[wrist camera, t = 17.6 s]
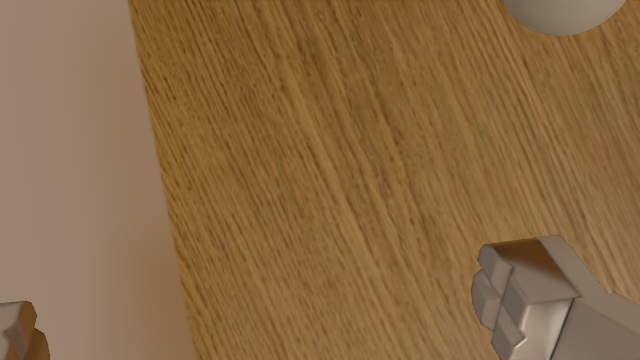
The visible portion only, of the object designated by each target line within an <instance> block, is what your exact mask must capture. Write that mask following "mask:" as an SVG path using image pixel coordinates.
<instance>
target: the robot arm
mask: <svg viewBox="0 0 640 360" xmlns="http://www.w3.org/2000/svg"><path fill="white" fill-rule="evenodd" d="M477 260H478V262H479V264H480V265H481V267H482V269H481V270H480V271H479V272H478V273H477V274H476V275H475V276H474V277H473V282H472V288H471V293H472V303H473V306H474V310H475V313H476V315H477V317H478V319H479V321H480V323H481V325H483V326H485V327H486V328H488V329H489V330H491V331H492V332H494V333H493V337H492V341H491V344H492V346H493V348H494V349H495V351H496V353H497V355H498V357H499V359H500V360H640V305H639V304H637V303H635V302H633V301H631V300H629V299H627V298H625V297H623V296H622V295H620V294H618V293H608V292H607V291H606V290H605V288H604V287H603V286H602V285H601V283H600V282H599V281H598V280H597V279H596V277H595V276H594V275H593V274H592V272H591V271H590V270H589V269H588V267H587V266H586V265H585V264H584V262H583V261H582V260H581V259H580V257H579V256H578V255H577V254H576V252H575V251H574V250H573V249H572V248H571V246H570V245H569V244H568V243H567V241H566V240H565V239H564V238H563V237H561V236H559V235H558V234H557V235H550V236H542V237H535V238H532V239H530V238H528V239H521V240H513V241H506V242H498V243H491V244H484V245H483V246H482V248H481V249H480V251H479V255H478V259H477ZM36 318H37V314H36V312H35V310H34V307H33V305H32V303H31V302H28V301H20V302H10V303H0V360H50V354H49V349H48V343H47V340H46V337H45V335H44V333H43V332H41V331H39V330H38V329H36V328H34V326H35V322H36Z"/></svg>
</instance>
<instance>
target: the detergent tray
mask: <svg viewBox="0 0 640 360" xmlns="http://www.w3.org/2000/svg"><path fill="white" fill-rule="evenodd" d="M502 1H503V4H504V5H505V7H506V8H507V10H508V11H509V13H510V14H511V15H512V16H513V17H514V18H515V19H516V20H517V21H518V22H519V23H521V24H522V25H524V26H525V27H527V28H529V29H530V30H533V31H536V32H539V33H542V34H545V35H554V36H566V35H573V34H578V33H582V32H585V31H587V30H589V29H592V28H594V27H596V26H598V25H600V24H601V23H603V22H604V21H606V20H607V19H609V18H610V17H611V16H612V15H613V14H614V13H615V12H616V11H617V10H618V9H620V8H621V6H622V5H623V4H624V2H625V1H626V0H502Z"/></svg>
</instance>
